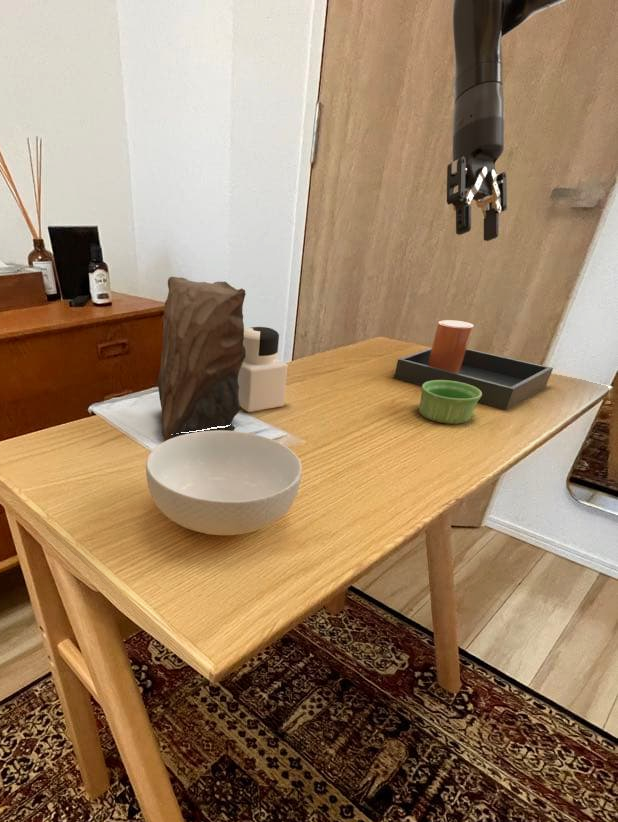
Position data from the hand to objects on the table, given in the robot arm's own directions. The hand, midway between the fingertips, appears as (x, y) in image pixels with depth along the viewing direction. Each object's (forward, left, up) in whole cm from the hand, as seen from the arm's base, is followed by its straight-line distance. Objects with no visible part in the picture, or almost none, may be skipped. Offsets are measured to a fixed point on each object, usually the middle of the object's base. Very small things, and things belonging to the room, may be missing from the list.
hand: (477, 236), depth 84 cm
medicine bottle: (+39, -13, -24) cm, 48 cm away
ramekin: (+19, +11, -24) cm, 33 cm away
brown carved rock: (+54, -13, -24) cm, 61 cm away
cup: (0, +1, -23) cm, 23 cm away
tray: (0, +6, -24) cm, 24 cm away
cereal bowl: (+67, +9, -24) cm, 72 cm away
